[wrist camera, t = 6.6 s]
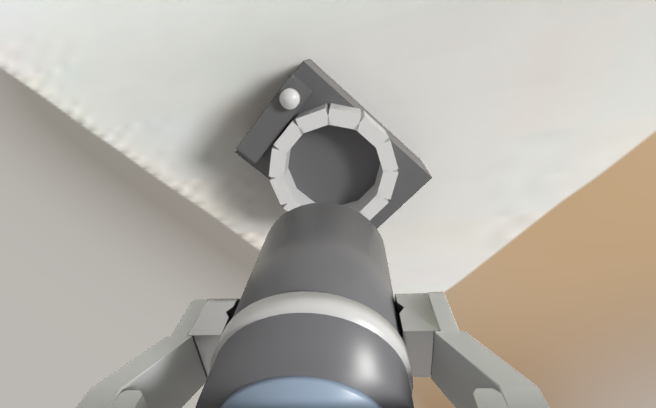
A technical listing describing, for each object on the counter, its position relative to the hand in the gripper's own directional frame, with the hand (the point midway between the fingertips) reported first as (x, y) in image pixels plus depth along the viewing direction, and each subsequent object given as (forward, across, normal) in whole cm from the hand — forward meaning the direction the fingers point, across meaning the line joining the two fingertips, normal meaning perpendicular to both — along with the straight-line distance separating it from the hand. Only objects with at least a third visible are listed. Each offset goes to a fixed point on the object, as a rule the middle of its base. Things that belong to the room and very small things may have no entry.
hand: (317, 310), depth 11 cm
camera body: (+19, 0, 0) cm, 19 cm away
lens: (+3, 0, 0) cm, 3 cm away
